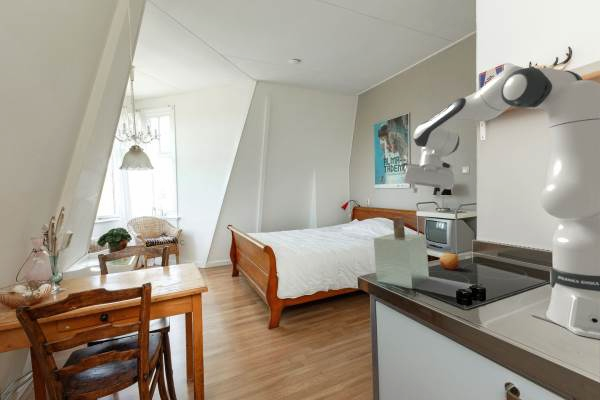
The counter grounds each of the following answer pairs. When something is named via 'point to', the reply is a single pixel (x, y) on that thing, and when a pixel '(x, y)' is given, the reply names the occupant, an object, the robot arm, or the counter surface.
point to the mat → (442, 286)
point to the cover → (401, 257)
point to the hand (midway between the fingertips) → (426, 194)
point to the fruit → (449, 261)
